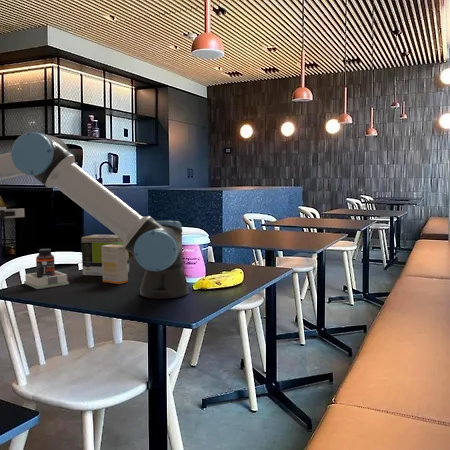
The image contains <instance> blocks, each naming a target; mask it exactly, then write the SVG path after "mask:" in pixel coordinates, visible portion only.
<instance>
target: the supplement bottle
mask: <svg viewBox="0 0 450 450" xmlns="http://www.w3.org/2000/svg"><path fill="white" fill-rule="evenodd" d="M35 261H36V262H35V265H36V273H37V278H42V277H49V276H55V271H56V270H55V256H54V255H53V254H52V249H51V248H40V249H39V250H38V254H37V256H36V258H35Z"/></svg>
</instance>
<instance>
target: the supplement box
mask: <svg viewBox="0 0 450 450" xmlns="http://www.w3.org/2000/svg"><path fill="white" fill-rule="evenodd" d="M101 250H102V275H103V276H102V283H110V284H116V285H122V284H125V283H128V282H129V276H128V275H129V274H128V273H129V272H128V271H127V250H126V249H125V248H124V245H114V244H109V245H103V246H101Z"/></svg>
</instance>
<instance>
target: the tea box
mask: <svg viewBox="0 0 450 450" xmlns="http://www.w3.org/2000/svg"><path fill="white" fill-rule="evenodd" d="M80 239H81V242H80V243H81V264H82V275H83V276H98V277H99V276H102V277H103V275H102V250H101V246H103V245H109V244H114V245H124V244H123V240H122V239H121V238H120V237H118V236H117V235H116V234H91V235H87V236H82V237H81V238H80ZM129 258H130V252H129V251H128V250H127V271H128V273H129V272H130V259H129Z"/></svg>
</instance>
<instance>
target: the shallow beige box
mask: <svg viewBox="0 0 450 450" xmlns="http://www.w3.org/2000/svg"><path fill="white" fill-rule="evenodd" d="M24 278H25V280H24V281H23V283H24V284H25V285H26V286H29V287H31V288H34V289H36V290H41V289H46V288H53V287H59V286H65V285H70V282H69V281H68V274H67V273H63V272H61V271H57V270H55V276H49V277H42V278H37V272H33V273H26V274H25V276H24Z"/></svg>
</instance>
